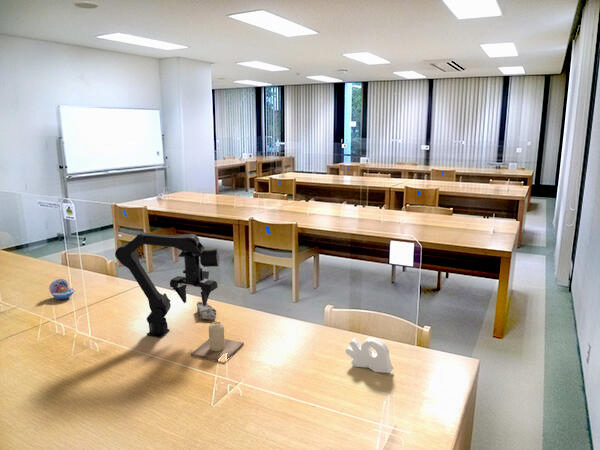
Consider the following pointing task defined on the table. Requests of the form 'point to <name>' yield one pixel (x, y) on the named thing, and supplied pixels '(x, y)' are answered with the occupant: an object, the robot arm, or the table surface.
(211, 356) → the walnut slab
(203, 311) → the mineral rock
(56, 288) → the cell model
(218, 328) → the candle
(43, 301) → the table surface
